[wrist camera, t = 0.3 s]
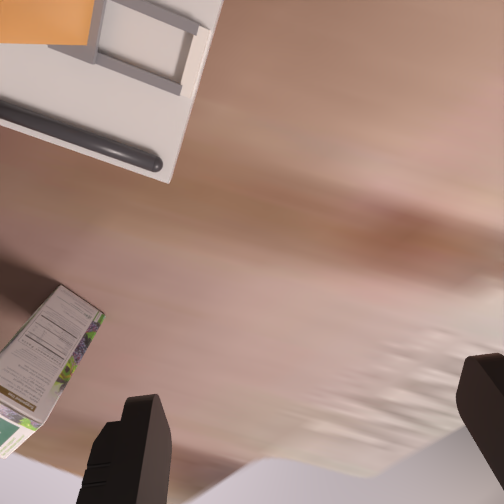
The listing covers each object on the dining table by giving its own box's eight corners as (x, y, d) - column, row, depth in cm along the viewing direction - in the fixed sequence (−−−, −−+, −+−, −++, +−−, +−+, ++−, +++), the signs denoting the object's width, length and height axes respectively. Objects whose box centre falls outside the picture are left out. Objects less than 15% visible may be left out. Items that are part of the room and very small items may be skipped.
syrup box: (76, 344, 45) (6, 465, 32) (29, 314, 43) (-66, 428, 30) (107, 314, 43) (46, 428, 30) (59, 280, 41) (-29, 387, 28)
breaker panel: (-24, -213, 25) (-51, -239, 23) (248, -83, 28) (248, -95, 26) (-40, 106, 33) (-61, 110, 31) (171, 179, 36) (165, 188, 34)
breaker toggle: (62, -34, 27) (-60, -89, 16) (109, -14, 28) (21, -54, 17) (51, 47, 29) (-63, 45, 19) (95, 64, 30) (9, 72, 19)
